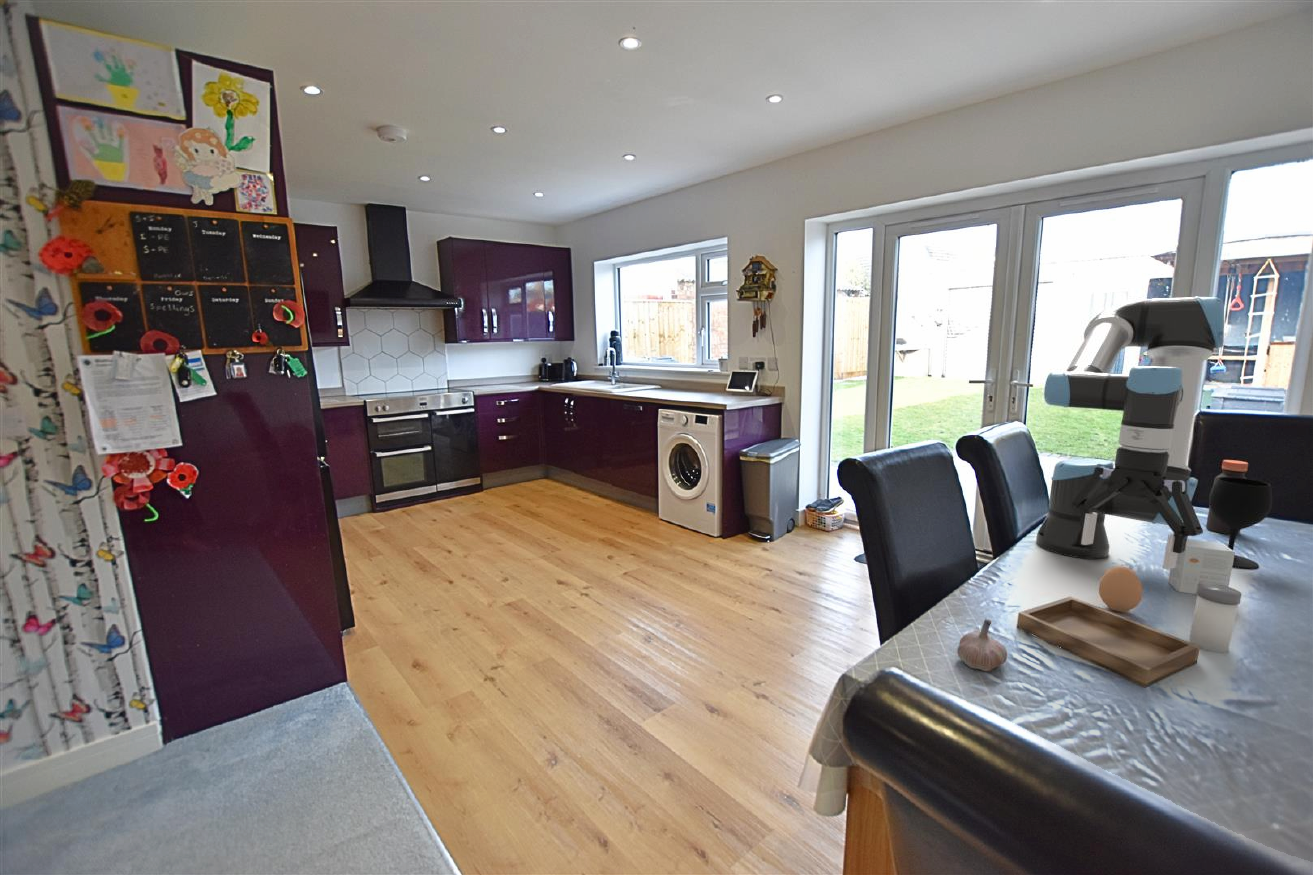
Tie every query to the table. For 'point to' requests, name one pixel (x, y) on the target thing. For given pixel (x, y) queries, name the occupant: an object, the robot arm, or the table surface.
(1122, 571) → the egg
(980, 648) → the garlic bulb
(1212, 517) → the bottle
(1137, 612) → the table surface
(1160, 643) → the tray
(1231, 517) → the wine glass
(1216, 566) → the small box
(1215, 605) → the shaker
